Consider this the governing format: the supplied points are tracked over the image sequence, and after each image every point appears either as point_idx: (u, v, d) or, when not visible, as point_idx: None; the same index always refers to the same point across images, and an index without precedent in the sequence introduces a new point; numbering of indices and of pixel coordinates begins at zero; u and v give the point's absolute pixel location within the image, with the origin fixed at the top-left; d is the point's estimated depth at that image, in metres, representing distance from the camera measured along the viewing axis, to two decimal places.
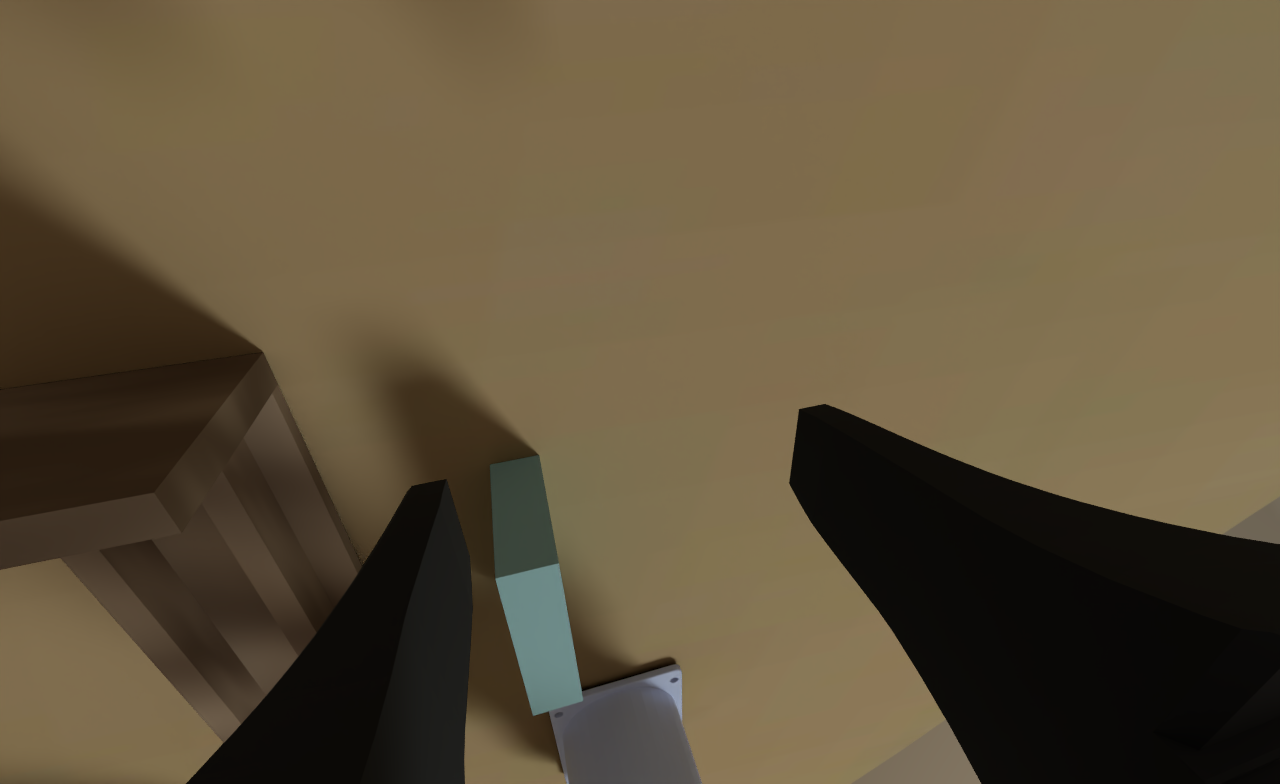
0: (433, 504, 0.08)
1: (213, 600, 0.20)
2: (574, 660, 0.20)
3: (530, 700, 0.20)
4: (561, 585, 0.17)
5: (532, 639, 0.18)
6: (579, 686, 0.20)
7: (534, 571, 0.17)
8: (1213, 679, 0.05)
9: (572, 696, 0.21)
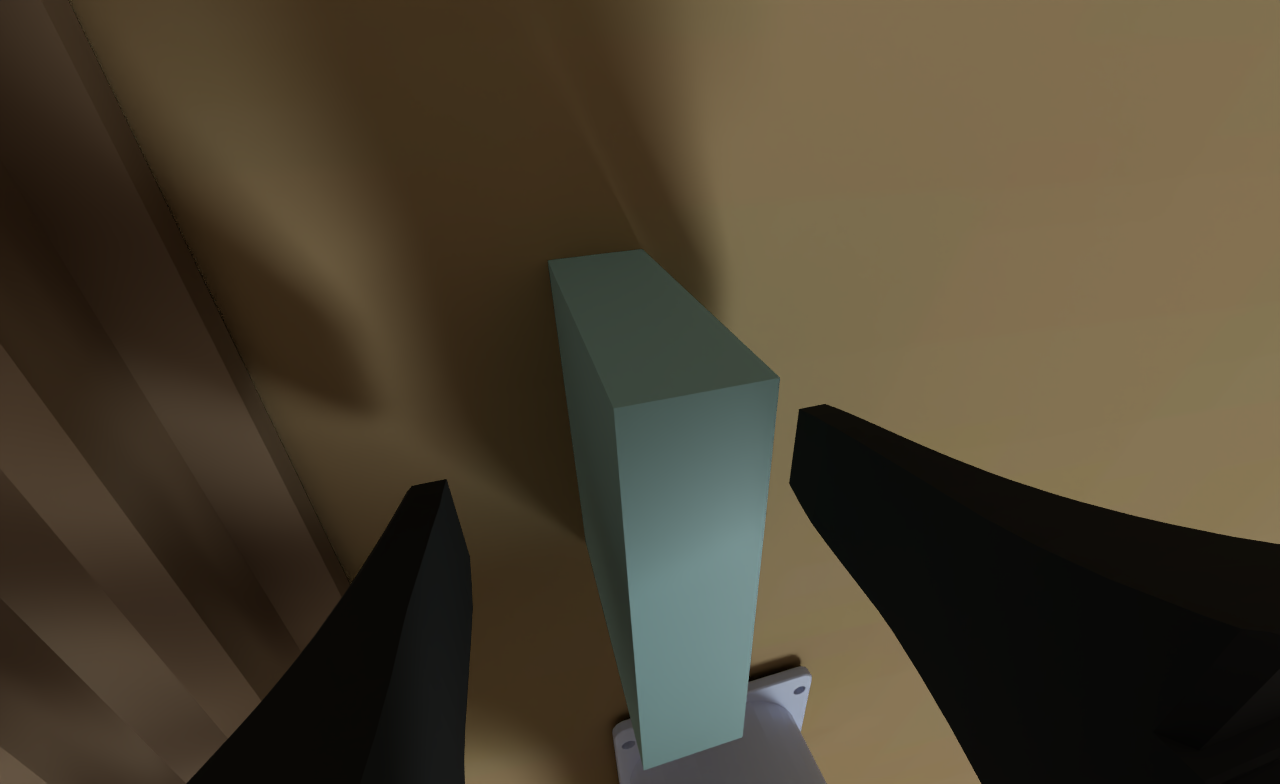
0: (433, 504, 0.08)
1: None
2: (747, 652, 0.09)
3: (644, 741, 0.09)
4: (769, 451, 0.07)
5: (673, 599, 0.08)
6: (743, 708, 0.10)
7: (717, 398, 0.06)
8: (1211, 679, 0.05)
9: (724, 727, 0.10)
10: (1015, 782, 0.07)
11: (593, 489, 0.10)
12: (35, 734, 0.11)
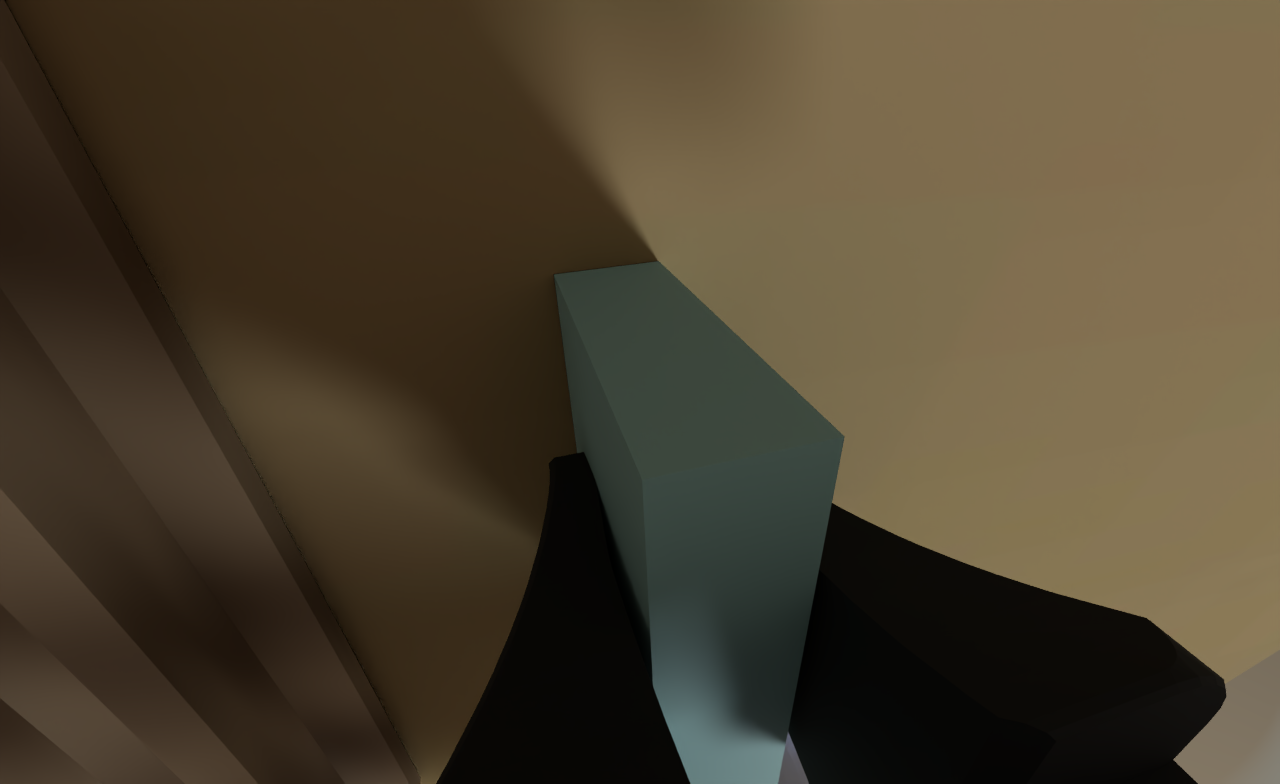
0: (587, 472, 0.09)
1: None
2: (783, 730, 0.08)
3: None
4: (825, 519, 0.06)
5: (704, 683, 0.06)
6: None
7: (767, 462, 0.05)
8: (983, 767, 0.04)
9: None
10: None
11: (606, 537, 0.09)
12: None
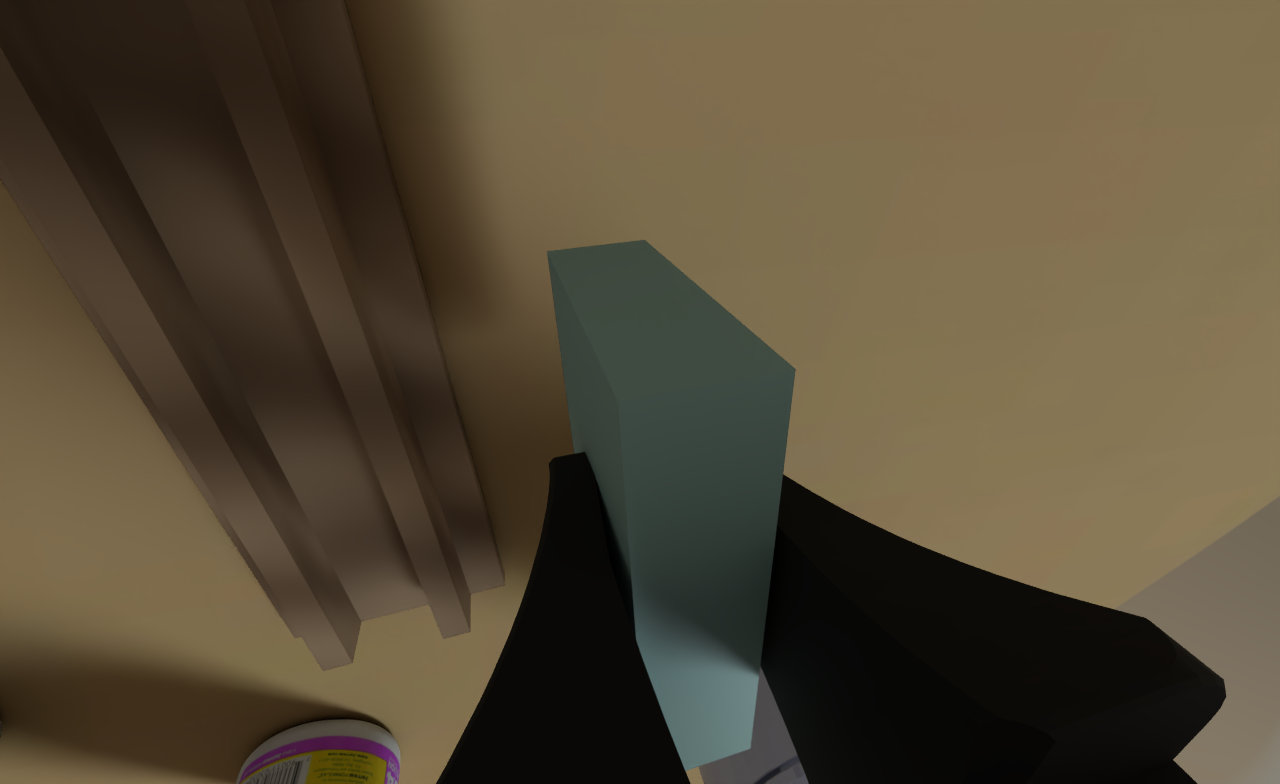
0: (587, 472, 0.09)
1: (245, 356, 0.15)
2: (757, 660, 0.08)
3: None
4: (783, 448, 0.06)
5: (680, 605, 0.07)
6: (751, 718, 0.09)
7: (728, 391, 0.06)
8: (983, 766, 0.04)
9: (731, 738, 0.09)
10: None
11: None
12: (274, 507, 0.16)
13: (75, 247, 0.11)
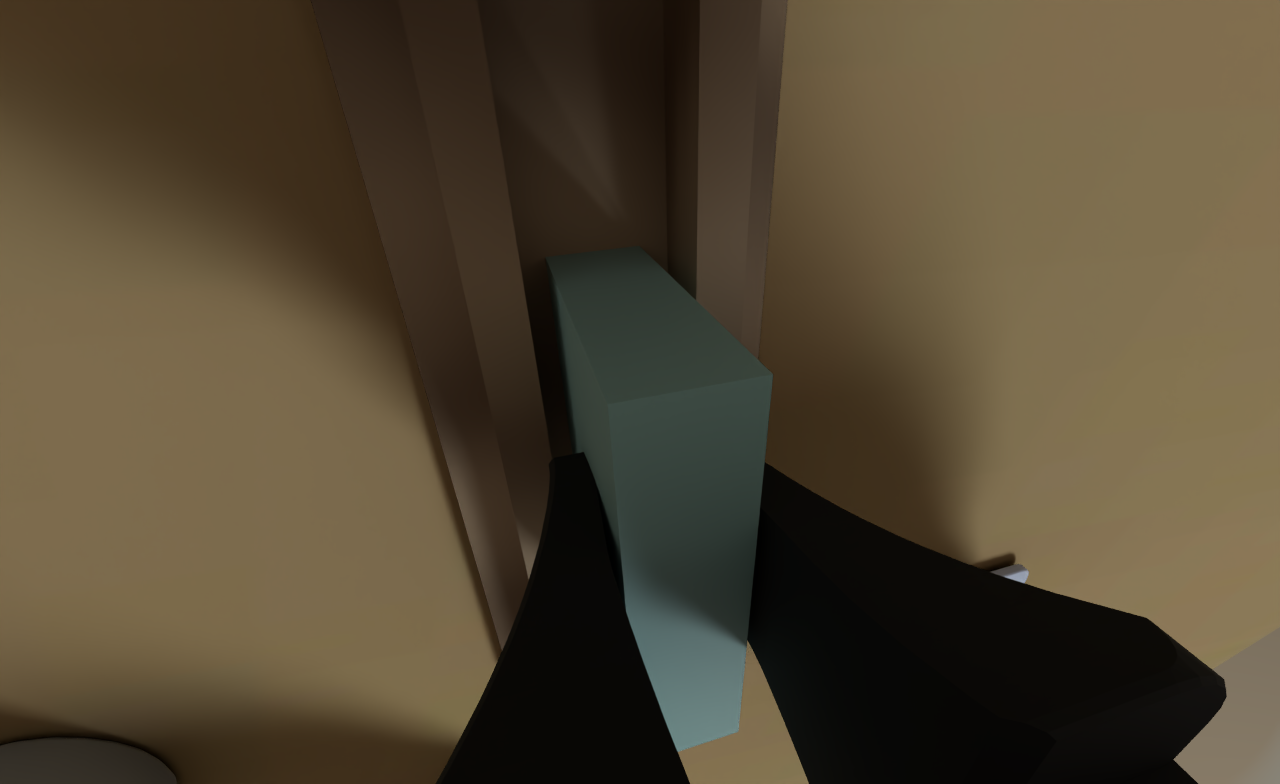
0: (586, 472, 0.09)
1: (556, 357, 0.12)
2: (742, 647, 0.09)
3: None
4: (763, 447, 0.07)
5: (668, 594, 0.08)
6: (738, 702, 0.10)
7: (710, 394, 0.06)
8: (983, 766, 0.04)
9: (720, 722, 0.10)
10: None
11: None
12: None
13: (466, 209, 0.08)
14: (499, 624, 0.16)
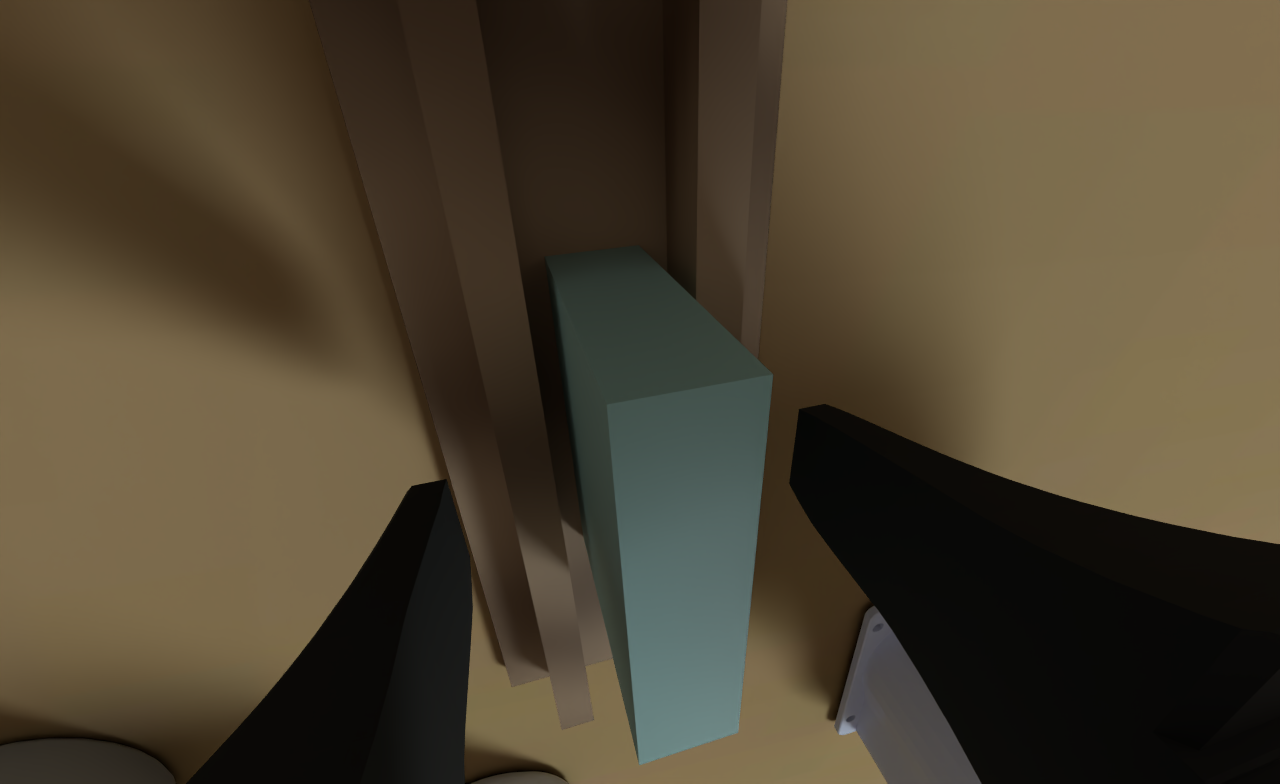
0: (433, 504, 0.08)
1: (555, 357, 0.12)
2: (742, 648, 0.09)
3: (639, 735, 0.09)
4: (763, 447, 0.07)
5: (668, 595, 0.08)
6: (738, 703, 0.10)
7: (710, 394, 0.06)
8: (1213, 679, 0.05)
9: (719, 723, 0.10)
10: (1015, 782, 0.07)
11: (589, 485, 0.10)
12: None
13: (465, 208, 0.08)
14: (498, 624, 0.16)
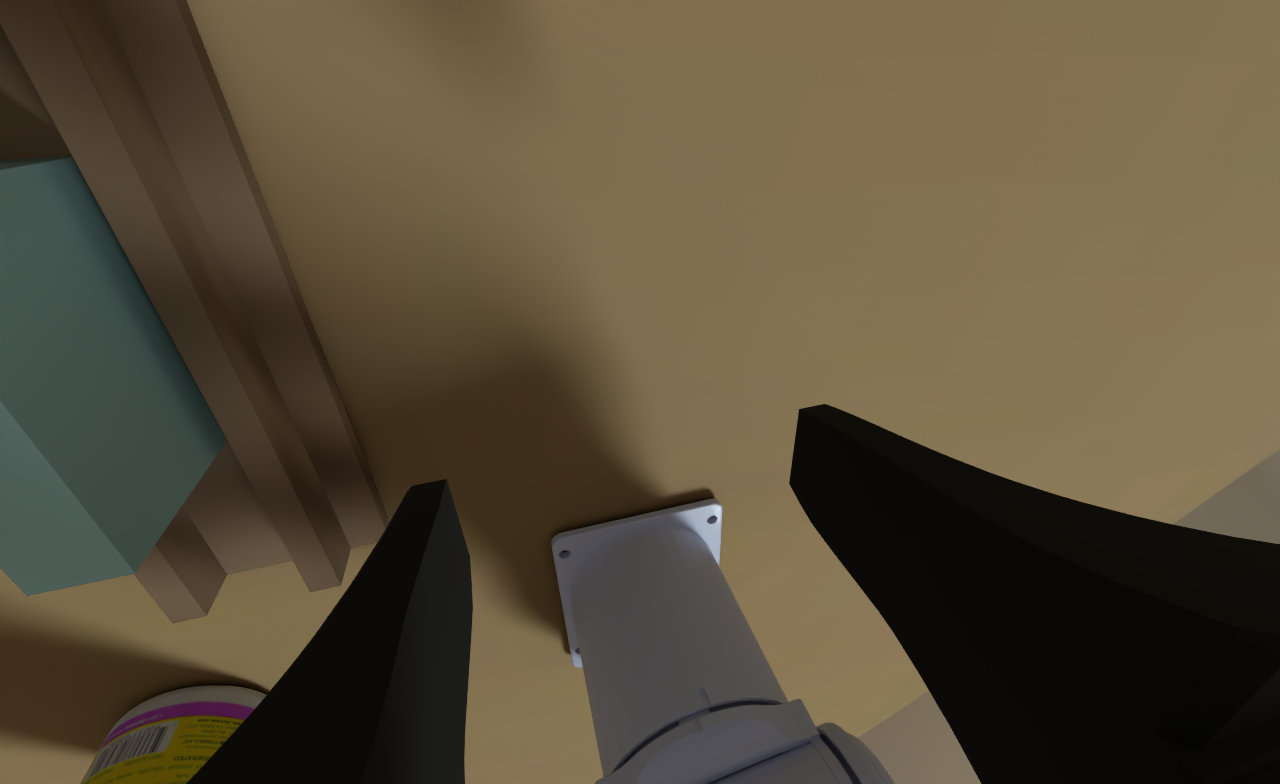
0: (433, 504, 0.08)
1: None
2: (56, 479, 0.10)
3: None
4: None
5: None
6: (106, 540, 0.11)
7: None
8: (1213, 679, 0.05)
9: (99, 559, 0.11)
10: (1015, 782, 0.07)
11: None
12: None
13: None
14: None
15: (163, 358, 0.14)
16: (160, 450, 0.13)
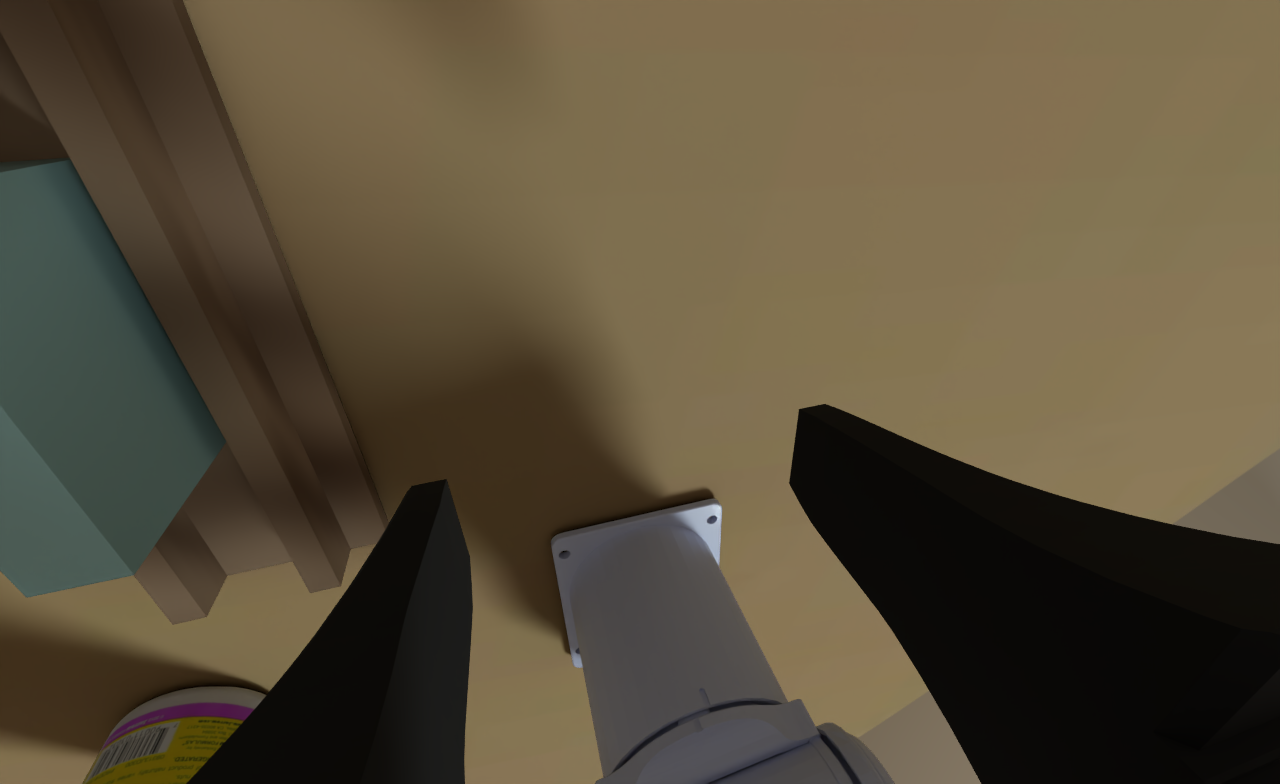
0: (433, 504, 0.08)
1: None
2: (54, 481, 0.10)
3: None
4: None
5: None
6: (105, 542, 0.11)
7: None
8: (1213, 679, 0.05)
9: (98, 561, 0.11)
10: (1015, 782, 0.07)
11: None
12: None
13: None
14: None
15: (162, 360, 0.14)
16: (159, 451, 0.13)
